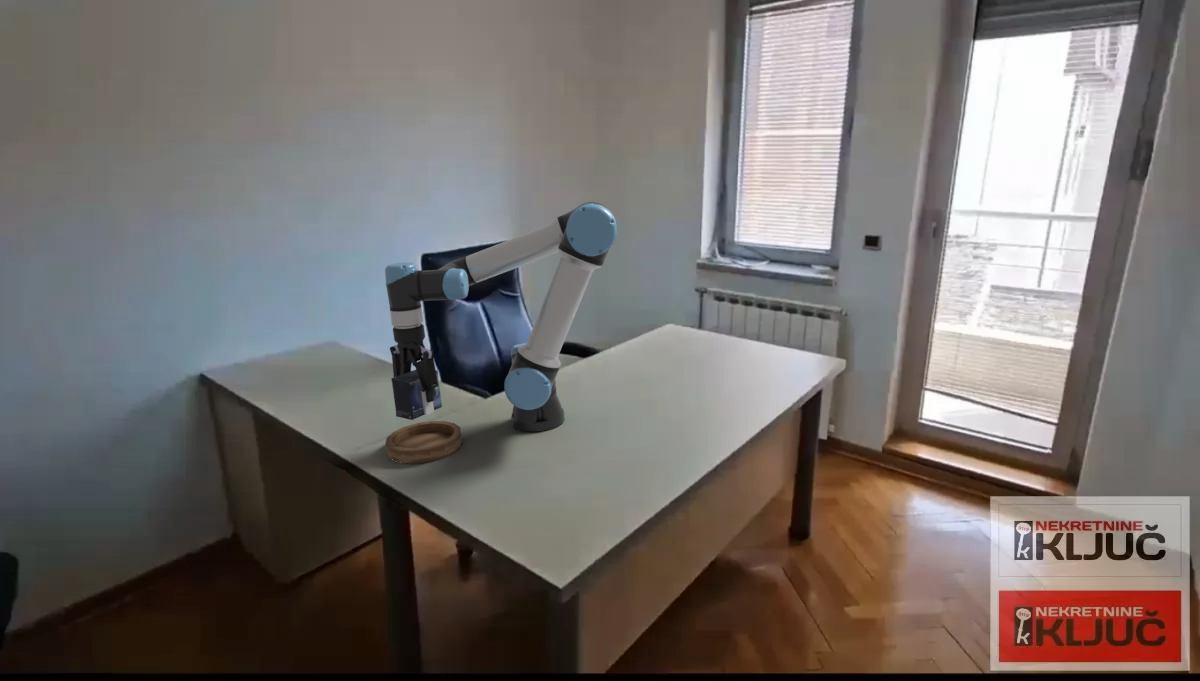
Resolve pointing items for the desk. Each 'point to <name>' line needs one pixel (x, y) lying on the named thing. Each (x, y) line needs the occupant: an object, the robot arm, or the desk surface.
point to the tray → (424, 442)
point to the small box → (412, 395)
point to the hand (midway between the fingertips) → (419, 410)
